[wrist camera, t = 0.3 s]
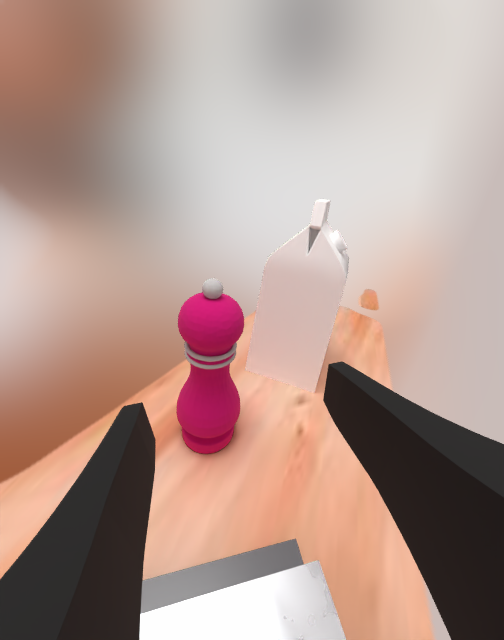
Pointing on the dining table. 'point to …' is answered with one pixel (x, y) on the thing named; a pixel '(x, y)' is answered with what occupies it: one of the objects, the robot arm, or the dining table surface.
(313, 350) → the milk
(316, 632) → the bar
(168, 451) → the dining table surface
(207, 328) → the pepper mill
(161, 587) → the board
